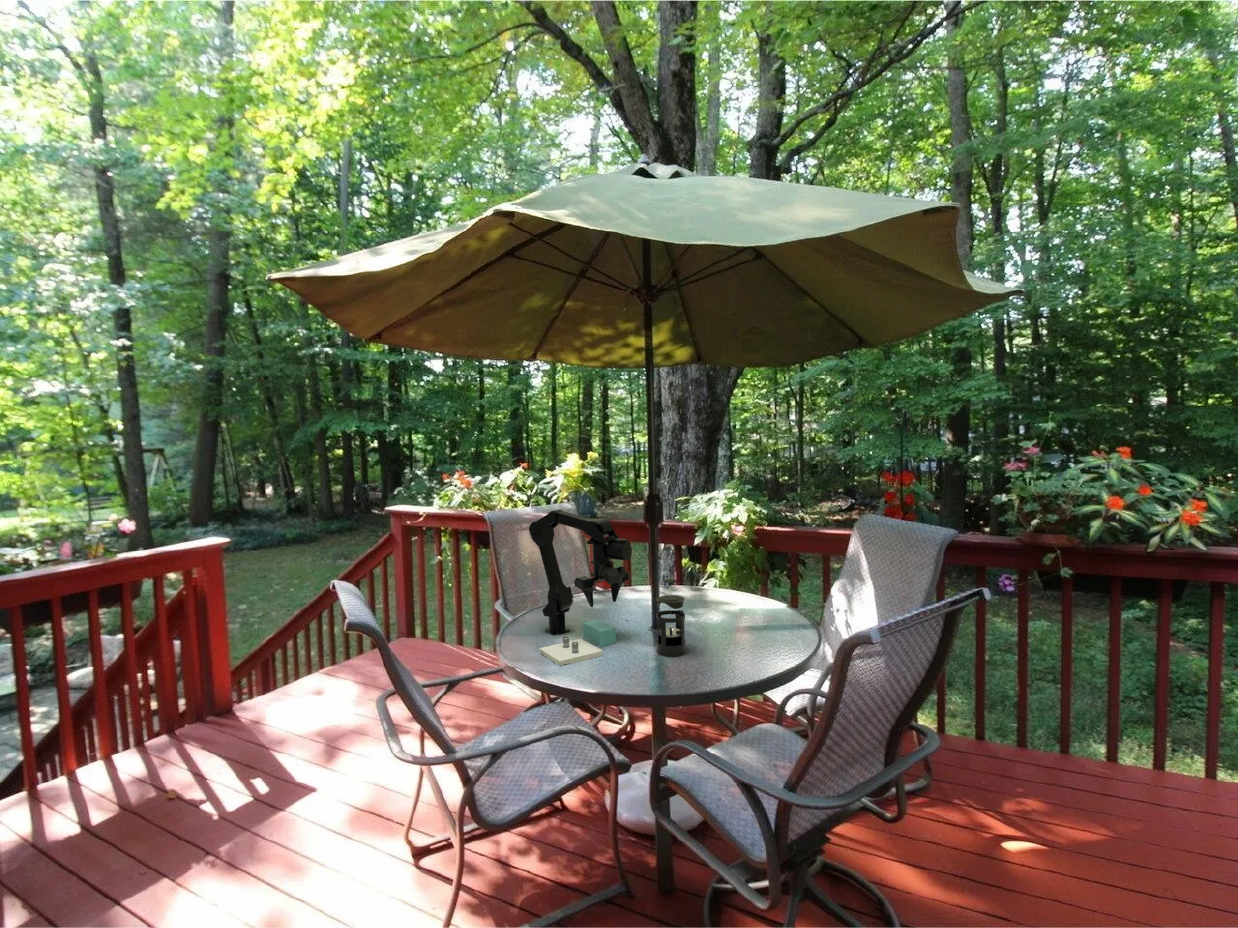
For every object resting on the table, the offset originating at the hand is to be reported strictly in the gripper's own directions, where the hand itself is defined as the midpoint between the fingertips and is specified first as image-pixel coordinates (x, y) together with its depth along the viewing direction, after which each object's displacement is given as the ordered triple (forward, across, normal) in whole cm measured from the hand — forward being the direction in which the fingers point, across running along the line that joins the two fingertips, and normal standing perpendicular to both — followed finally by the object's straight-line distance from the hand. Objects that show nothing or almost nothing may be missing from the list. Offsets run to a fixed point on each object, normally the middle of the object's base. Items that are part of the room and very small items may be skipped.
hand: (603, 604), depth 220 cm
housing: (+12, -1, +1) cm, 12 cm away
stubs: (+11, -16, -4) cm, 19 cm away
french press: (+12, +10, -23) cm, 28 cm away
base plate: (+12, -16, -4) cm, 20 cm away
